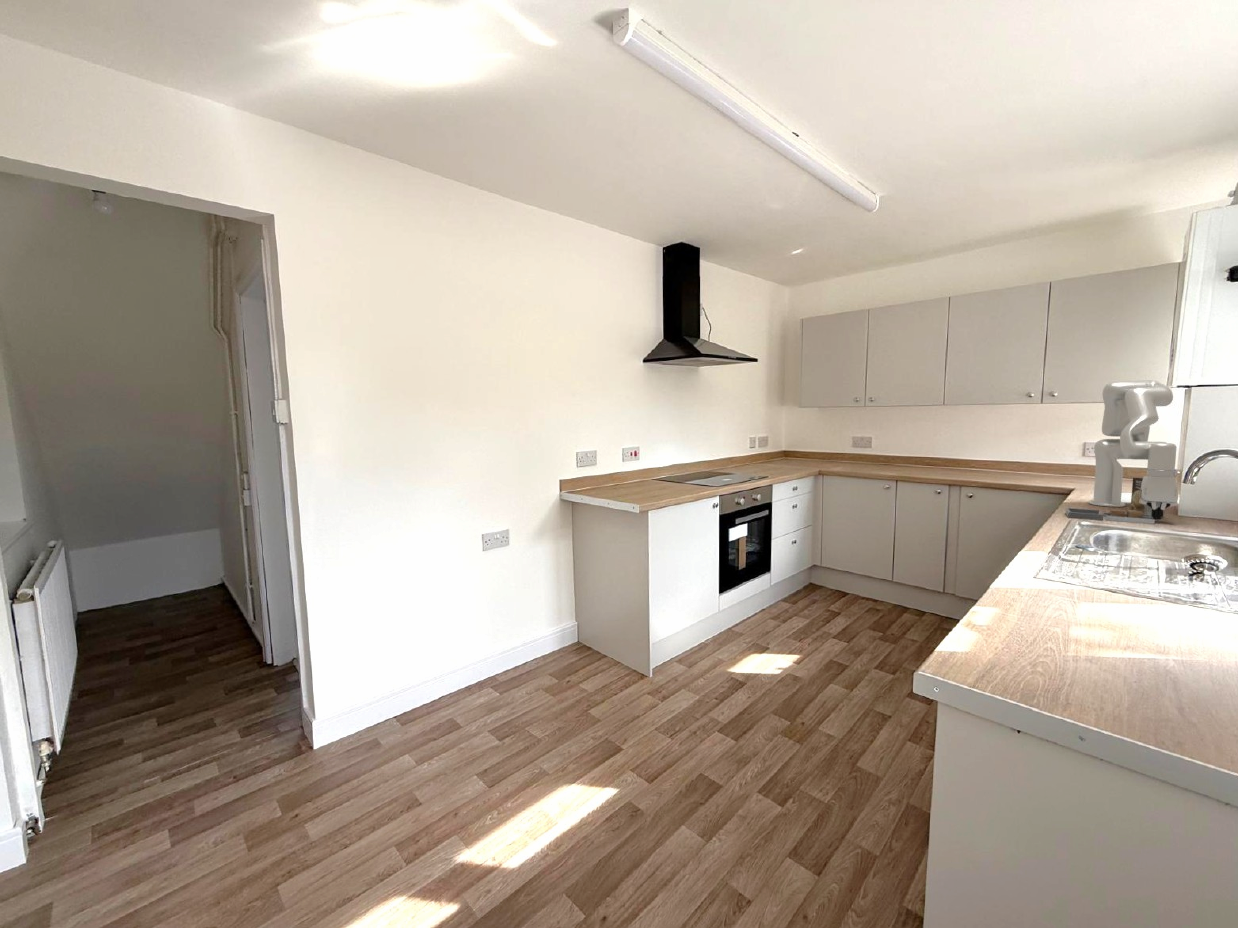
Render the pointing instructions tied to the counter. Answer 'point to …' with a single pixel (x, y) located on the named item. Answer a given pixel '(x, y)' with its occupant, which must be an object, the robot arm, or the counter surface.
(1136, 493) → the coffee box
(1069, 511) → the gray u-shaped frame
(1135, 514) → the walnut chip
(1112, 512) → the walnut chip
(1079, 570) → the counter surface
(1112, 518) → the slot rails
